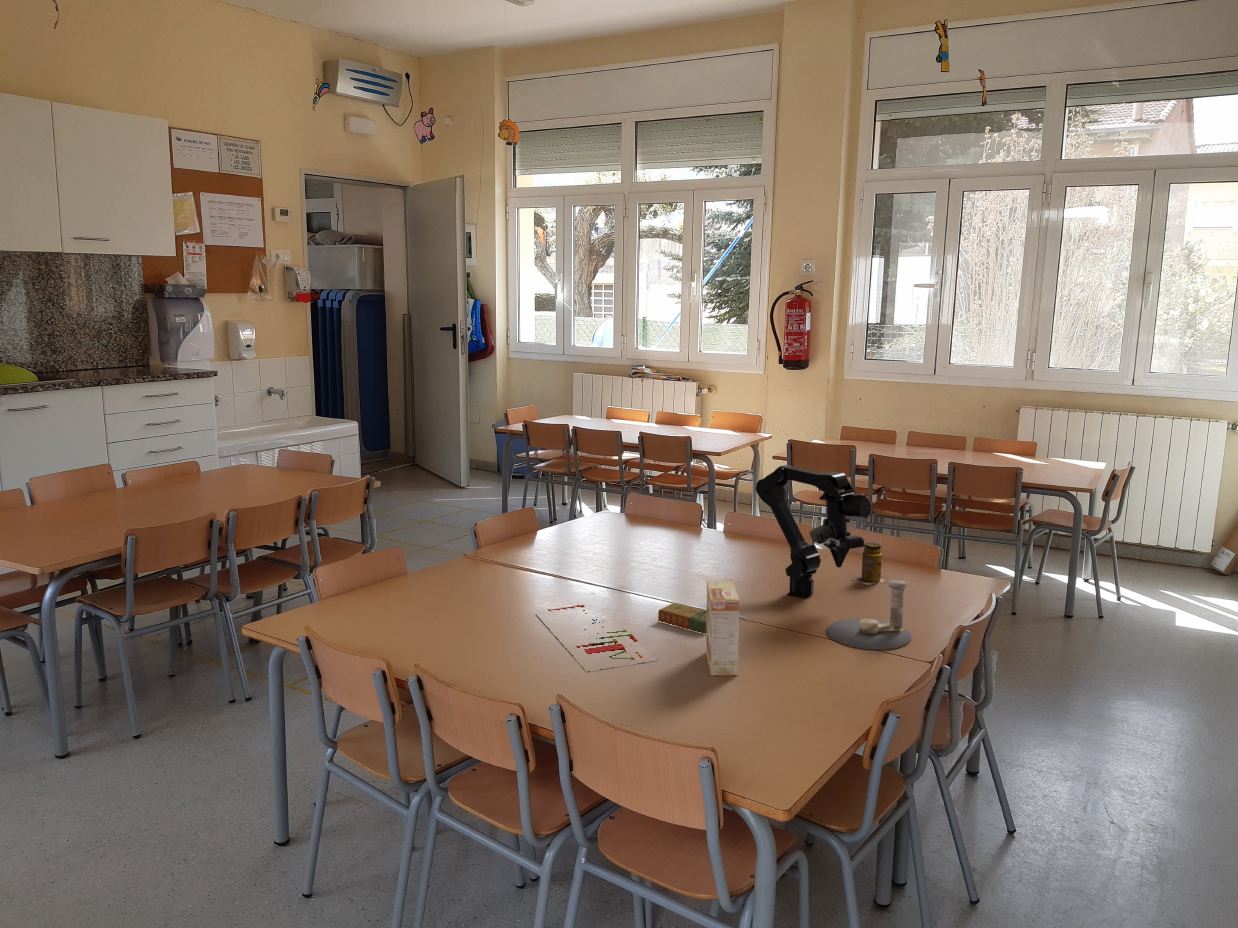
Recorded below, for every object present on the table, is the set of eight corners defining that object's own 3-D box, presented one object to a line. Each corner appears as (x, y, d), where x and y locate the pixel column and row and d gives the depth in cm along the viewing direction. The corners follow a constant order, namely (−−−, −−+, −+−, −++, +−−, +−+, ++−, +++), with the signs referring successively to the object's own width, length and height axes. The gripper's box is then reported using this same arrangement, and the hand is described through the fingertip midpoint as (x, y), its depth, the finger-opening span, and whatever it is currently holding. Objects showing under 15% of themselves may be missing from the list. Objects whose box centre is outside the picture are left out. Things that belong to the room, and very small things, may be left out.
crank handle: (864, 634, 239) (866, 587, 237) (855, 628, 244) (857, 582, 242) (907, 631, 242) (910, 584, 239) (898, 625, 246) (901, 579, 244)
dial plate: (816, 640, 238) (816, 637, 238) (839, 615, 257) (840, 613, 257) (900, 655, 228) (900, 653, 228) (918, 628, 246) (918, 626, 246)
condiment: (886, 580, 289) (888, 545, 287) (868, 585, 285) (870, 549, 282) (868, 575, 295) (870, 540, 293) (851, 579, 291) (852, 544, 288)
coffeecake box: (705, 652, 231) (706, 579, 228) (732, 652, 231) (734, 580, 227) (709, 675, 216) (710, 599, 213) (738, 676, 216) (740, 599, 213)
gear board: (658, 653, 225) (586, 665, 219) (658, 662, 226) (586, 674, 219) (597, 599, 267) (535, 608, 260) (597, 607, 267) (535, 616, 260)
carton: (674, 615, 259) (674, 601, 259) (721, 627, 250) (722, 613, 249) (657, 623, 253) (657, 609, 252) (705, 636, 243) (705, 621, 242)
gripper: (795, 514, 269) (798, 565, 270) (831, 522, 251) (833, 577, 253) (827, 510, 272) (829, 560, 274) (864, 518, 255) (866, 571, 257)
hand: (838, 567), depth 264 cm, fingers closed
